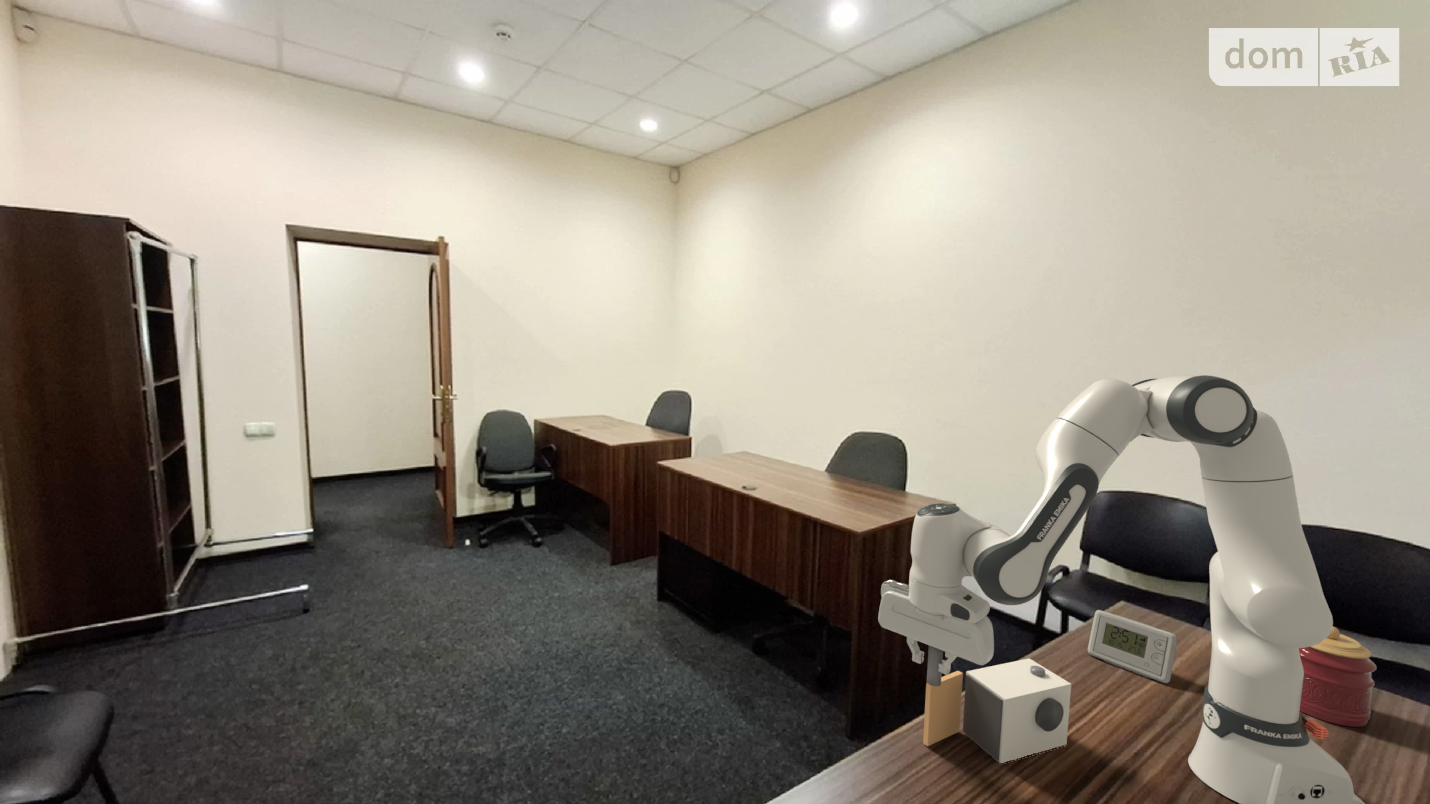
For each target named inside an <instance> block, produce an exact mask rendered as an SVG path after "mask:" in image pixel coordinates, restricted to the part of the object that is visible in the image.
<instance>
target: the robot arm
mask: <svg viewBox="0 0 1430 804" xmlns="http://www.w3.org/2000/svg"><path fill="white" fill-rule="evenodd" d="M1253 405H1254V404H1253V403H1252V400H1251V398H1250V396H1249V395H1248V394H1247V392H1246V391H1245V389H1243V388H1242V387H1241V386H1239V385H1238V384H1237V383H1235V382H1233V381H1231V380H1229V379H1227V378H1223V377H1219V376H1214V375H1190V374H1189V375H1188V374H1186V375H1185V374H1184V375H1183V374H1181V375H1170V376H1167V377H1161V378H1149V379H1145V380H1144V379H1143V380H1140V381H1137V382H1136V383H1134V384H1130V383H1128V382H1125V381H1123V380H1119V379H1116V378H1115V379H1114V378H1103V379H1102V378H1101V379H1100V380H1097V381H1094V382H1093V383H1092V384H1090V385H1089V386H1087V387H1085V389H1084V390H1083V391H1081V392H1080V393H1079V394H1078V395H1076V396H1075V397H1074V398H1073V399H1072V400H1071V401H1070V402H1069V403H1068V404H1067V405H1066V406H1065V407H1064V408H1063V409H1062V410H1061V412H1060V413H1058V415H1057V416H1056V417H1055V418H1054V420H1053V421H1052V422H1051V423H1050V424H1049V426H1048V427H1047V428H1046V429H1045V431H1044V432H1043V433H1042V435H1041V437H1040V439H1039V440H1038V443H1037V445H1036V447H1035V458H1036V461H1037V464H1038V465H1037V466H1038V467H1039V469H1040V471H1041V473H1042V476H1043V480H1044V481H1043V483H1044V485H1043V486H1044V487H1043V490H1042V494H1041V495H1040V498H1039V499H1038V500H1037V503H1036V504H1035V505H1034V507H1033V508H1032V509H1031V511H1029V514H1027V517H1026V518H1025V520H1024V521H1023V522H1022V524H1021V525H1020V526H1019V528H1018V529H1017V531H1015V533H1013V534H1012V535H1010V534H1009V533H1008V532H1006V531H1004V530H1003V529H1002V528H1000V527H999V526H997V525H995V524H993V523H991V522H986V521H983V520H981V519H978V518H975V517H974V516H972V515H970V514H968V513H967V512H966V511H964V509H961V507H960V506H958V505H956V504H951V503H940V502H939V503H932V504H928V505H925V506H923V507H922V508H920V509H918V510H917V512H916V514H915V516H914V518H913V519H914V520H913V523H912V530H911V539H910V555H911V559H912V561H911V562H912V563H911V567H910V570H909V574H908V575H909V577H908V578H909V579H908V584H907V583H902V582H898V581H896V580H894V579H889V580H885V581H884V582H882V584H881V586H880V587H881V588H880V595H881V599H880V605H879V608H878V609H879V611H878V617H877V619H878V623H879V625H880V627H881V628H883V629H886V630H889V631H891V632H894V633H897V634H899V635H901V636H904V637H906V643H907V646H908V647H909V650H910V652H911V654H912V655H911V656H912V657H911V660H912V662H915V663H917V664H919V665H921V664H922V663H923V662H924V660H925V657H924V656H925V651H922V650H920V646H919V644H918V642H920V643H921V644H925V645H928V646H929V645H930V646H932V647H935V648H937V649H940V650H942V651H943V652H944V653H945V654H944V656H945V658H947V659H946V660H944V659H942V662H939V666H938V667H939V669H938V671H939V672H941V673H942V674H943V675H944V676H946V675H948V674H951V673H950V672H951V664H952V663H953V662H954V661H955V659H956V658H957V657H958V658H961V659H963V660H965V661H969V662H970V663H974V664H976V665H978V666H984V665H986V664H988V663H989V662H990V661H991V660H992V658H993V656H994V652H995V640H994V638H995V637H994V628H993V623H992V621H991V620H990V618H989V617H988V616H987V615H988V614H989V612H990V609H991V606H990V605H991V604H990V602H989V601H988V600H986V599H984V598H983V597H981V596H980V595H978V594H976V593H975V592H973V591H972V590H970V589H969V588H967V587H966V586H965V585H963V583H962V582H963V578H966V577H972V578H973V579H974V580H975V581H976V583H977V584H978V586H979V588H980V590H981V591H982V592H983V593H984V595H985V596H986V597H987V598H989V599H990V601H993V602H995V603H997V604H1000V605H1004V606H1020V605H1022V604H1026V603H1028V602H1030V601H1032V600H1033V599H1035V598H1036V597H1037V596H1038V595H1039V594H1040V593H1041V592H1042V590H1043V588H1044V586H1045V584H1046V581H1047V577H1048V574H1049V571H1050V567H1051V565H1052V563H1053V562H1054V559H1055V557H1056V555H1058V553H1059V552H1060V550H1061V549H1062V547H1063V546H1064V544H1066V542H1067V540H1068V538H1069V537H1070V536H1071V535H1072V533H1073V531H1074V530H1075V529H1076V527H1077V526H1078V525H1079V523H1080V521H1081V520H1082V518H1083V517H1084V515H1085V514H1086V512H1087V511H1088V510H1089V508H1090V506H1091V505H1092V503H1093V501H1094V499H1095V497H1096V495H1097V493H1098V490H1099V487H1100V483H1101V481H1102V479H1103V478H1104V476H1105V474H1106V473H1107V472H1108V470H1109V469H1110V468H1111V466H1112V465H1113V464H1114V463H1115V461H1116V460H1117V459H1118V457H1120V455H1121V454H1123V452H1124V450H1126V448H1127V446H1129V443H1132V441H1134V440H1135V439H1136V438H1137V437H1140V436H1141V437H1146V438H1152V439H1158V440H1163V441H1167V442H1172V443H1173V442H1174V443H1182V442H1187V443H1189V442H1190V443H1191V444H1192V446H1193V447H1194V449H1195V450H1196V453H1197V454H1198V455H1197V456H1198V457H1199V466H1200V467H1199V468H1200V474H1201V482H1202V486H1203V493H1204V495H1203V496H1204V500H1205V507H1206V513H1207V514H1206V515H1207V519H1208V524H1209V527H1210V529H1211V533H1212V535H1213V538H1214V543H1215V546H1216V549H1217V551H1216V552H1215V553H1214V554H1213V555H1212V556H1211V559H1210V561H1209V566H1208V567H1209V568H1208V569H1209V571H1208V573H1209V613H1210V614H1209V615H1210V630H1211V654H1210V655H1211V657H1210V664H1209V665H1210V666H1209V675H1208V676H1209V677H1208V685H1206V686H1204V687H1205V688H1204V691H1203V698H1202V699H1203V700H1202V723H1201V724H1202V725H1201V728H1200V731H1199V734H1198V738H1197V740H1196V743H1195V744H1194V747H1193V749H1192V750H1191V753H1190V754H1189V756H1188V758H1187V761H1188V765H1189V768H1190V769H1191V770H1192V772H1193V773H1194V774H1195V775H1196V777H1197V778H1198V779H1200V780H1201V781H1202V782H1203V783H1204V784H1206V785H1207V786H1208V787H1210V788H1211V789H1213V790H1214V791H1216V792H1218V793H1220V794H1221V795H1223V796H1224V797H1226V798H1228V799H1230V800H1232V801H1234V802H1236V803H1238V804H1366V803H1365V802H1364V801H1363V800H1362V799H1361V798H1360V797H1358V795H1356V794H1355V792H1354V785H1353V781H1352V778H1351V776H1350V774H1349V773H1348V771H1347V770H1346V768H1344V766H1343V765H1342V764H1341V763H1340V762H1339V761H1338V760H1337V759H1336V758H1334V757H1333V756H1332V755H1330V754H1329V753H1328V752H1327V751H1326V750H1325V749H1324V748H1322V747H1321V746H1320V745H1319V744H1318V743H1316V742H1315V741H1314V740H1313V739H1311V738H1310V736H1309V733H1311V734H1312V735H1314V736H1315V738H1317V739H1320V740H1325V739H1326V738H1328V737H1329V734H1330V733H1329V730H1328V728H1326V727H1325V726H1324V725H1321V724H1320V723H1319V722H1317V721H1316V720H1314V719H1312V720H1309V719H1307V718H1306V716H1305V715H1304V714H1303V713H1302V712H1301V711H1300V703H1301V694H1302V686H1303V677H1304V670H1303V665H1302V662H1301V658H1300V653H1299V648H1306V647H1310V646H1314V645H1316V644H1318V643H1320V642H1322V641H1323V640H1325V639H1326V638H1327V637H1328V635H1329V634H1330V632H1331V630H1332V627H1334V626H1333V625H1334V620H1333V619H1334V618H1333V615H1332V612H1331V610H1330V608H1329V605H1328V602H1327V599H1326V598H1325V595H1324V592H1323V588H1322V584H1321V581H1320V577H1319V574H1318V571H1317V568H1316V564H1315V561H1314V559H1313V555H1312V553H1311V552H1312V551H1311V550H1310V547H1309V544H1308V541H1307V538H1306V536H1305V533H1304V530H1303V526H1302V522H1301V517H1300V512H1299V511H1300V510H1299V504H1298V498H1297V492H1296V486H1295V480H1294V475H1293V474H1294V473H1293V468H1292V467H1293V466H1292V463H1291V460H1290V455H1289V452H1288V449H1287V445H1286V442H1285V440H1284V438H1283V435H1282V432H1281V430H1280V428H1279V426H1278V424H1277V421H1276V419H1274V418H1273V416H1271V415H1269V414H1268V413H1267V412H1263V411H1260V410H1257V409H1255V407H1254V406H1253ZM1308 732H1309V733H1308Z"/></svg>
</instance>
